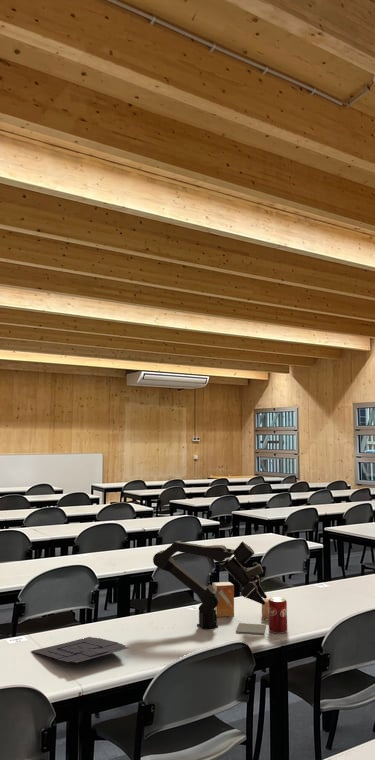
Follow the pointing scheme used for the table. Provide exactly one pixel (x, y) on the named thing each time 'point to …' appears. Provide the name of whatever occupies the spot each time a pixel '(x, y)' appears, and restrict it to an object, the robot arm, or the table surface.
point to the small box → (225, 599)
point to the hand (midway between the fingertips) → (265, 600)
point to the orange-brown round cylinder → (265, 610)
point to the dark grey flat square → (81, 649)
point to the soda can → (277, 615)
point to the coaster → (251, 628)
